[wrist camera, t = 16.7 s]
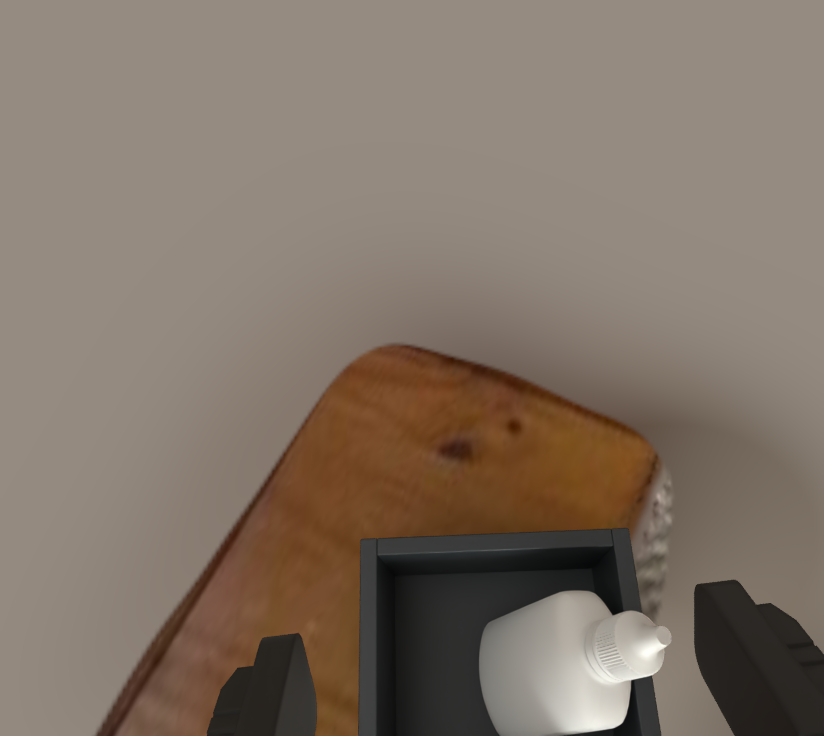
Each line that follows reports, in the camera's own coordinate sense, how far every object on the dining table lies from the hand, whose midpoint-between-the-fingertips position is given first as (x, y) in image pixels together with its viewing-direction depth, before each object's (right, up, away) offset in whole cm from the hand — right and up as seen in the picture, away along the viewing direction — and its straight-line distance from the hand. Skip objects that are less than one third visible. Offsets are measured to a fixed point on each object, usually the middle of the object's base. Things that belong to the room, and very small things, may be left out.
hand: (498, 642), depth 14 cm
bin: (+3, -11, +22) cm, 25 cm away
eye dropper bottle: (+3, -11, +21) cm, 24 cm away
